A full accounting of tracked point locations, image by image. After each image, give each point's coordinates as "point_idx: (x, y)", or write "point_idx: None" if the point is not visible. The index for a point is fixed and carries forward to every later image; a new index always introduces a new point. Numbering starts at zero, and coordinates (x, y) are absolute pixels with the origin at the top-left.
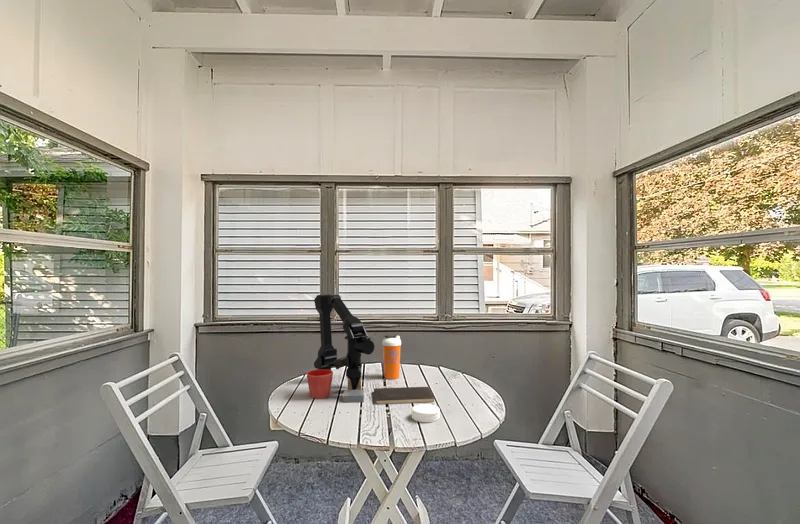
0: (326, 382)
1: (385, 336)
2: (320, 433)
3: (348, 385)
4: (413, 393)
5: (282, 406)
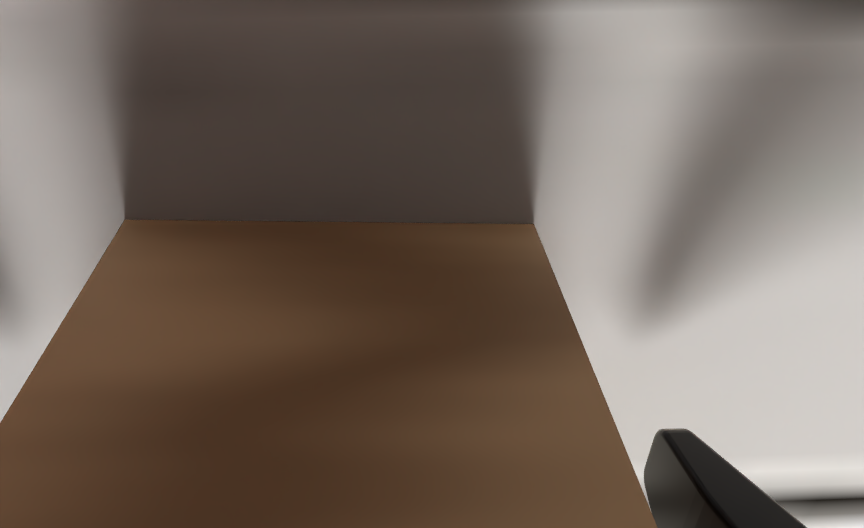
0: None
1: None
2: None
3: (24, 429)
4: None
5: None
